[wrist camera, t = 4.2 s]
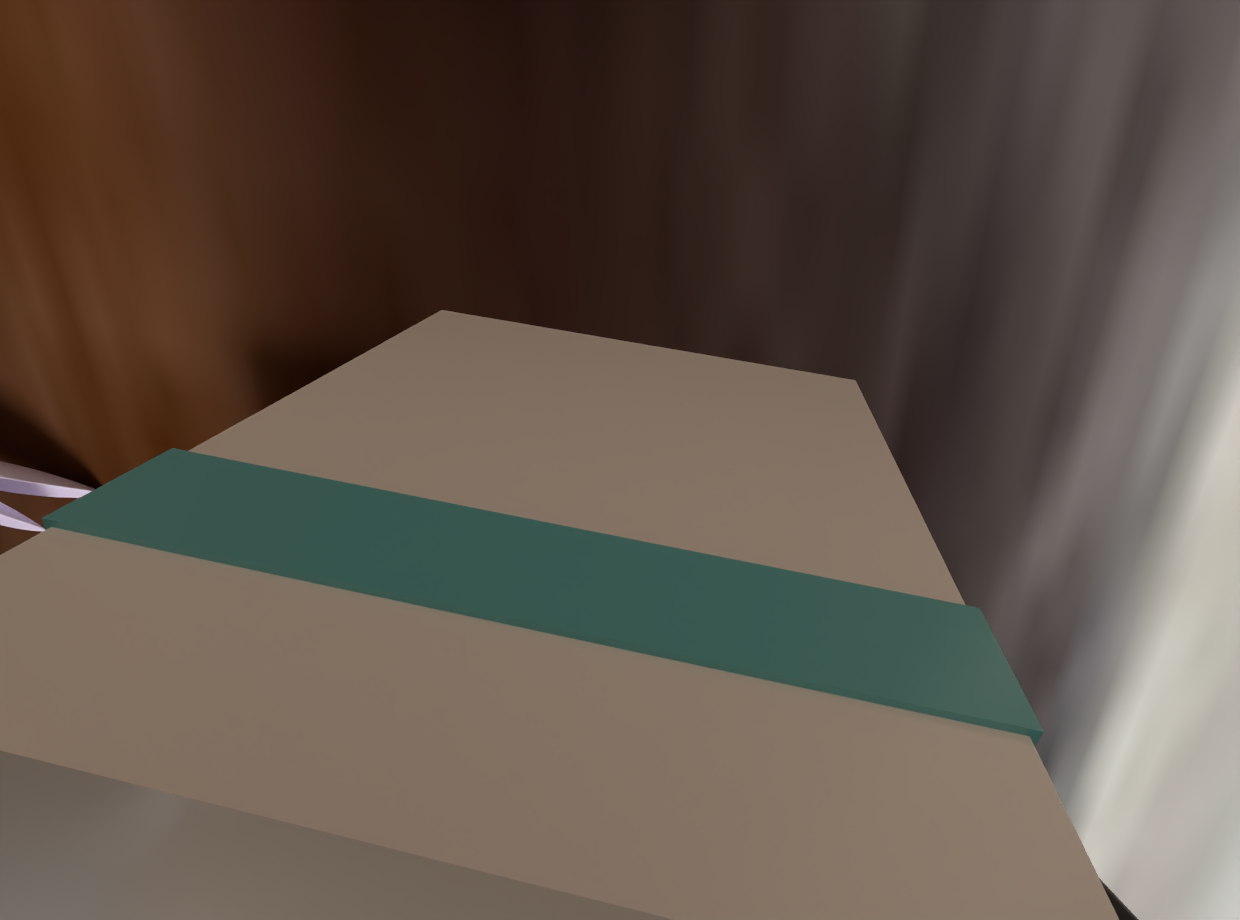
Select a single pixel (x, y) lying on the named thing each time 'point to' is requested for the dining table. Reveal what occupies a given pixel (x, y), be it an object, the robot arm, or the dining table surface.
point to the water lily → (33, 491)
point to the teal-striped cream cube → (519, 662)
